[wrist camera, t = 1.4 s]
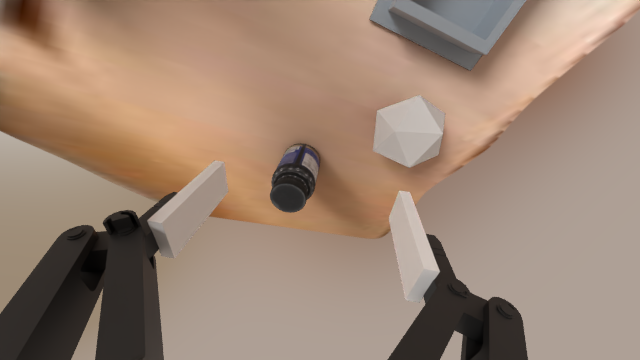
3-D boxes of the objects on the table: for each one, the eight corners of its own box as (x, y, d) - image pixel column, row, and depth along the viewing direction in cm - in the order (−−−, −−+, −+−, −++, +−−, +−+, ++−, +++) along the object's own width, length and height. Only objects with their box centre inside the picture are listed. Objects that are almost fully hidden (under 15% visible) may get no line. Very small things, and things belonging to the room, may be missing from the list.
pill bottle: (284, 171, 40) (263, 212, 30) (285, 139, 36) (263, 174, 27) (318, 177, 39) (308, 220, 30) (323, 145, 36) (313, 183, 27)
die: (361, 104, 33) (358, 168, 29) (416, 64, 25) (420, 142, 22) (400, 126, 37) (401, 184, 33) (456, 97, 30) (466, 167, 26)
